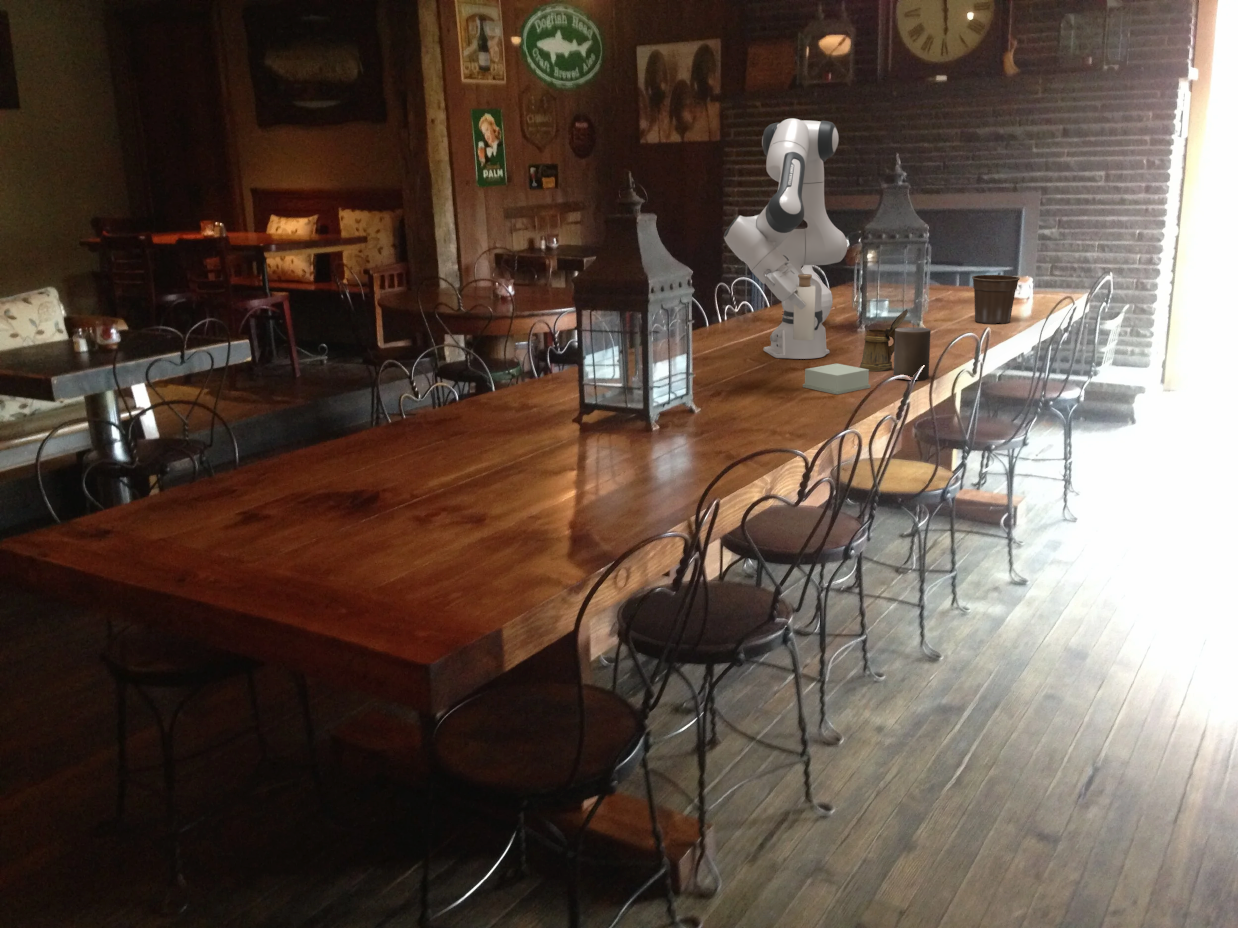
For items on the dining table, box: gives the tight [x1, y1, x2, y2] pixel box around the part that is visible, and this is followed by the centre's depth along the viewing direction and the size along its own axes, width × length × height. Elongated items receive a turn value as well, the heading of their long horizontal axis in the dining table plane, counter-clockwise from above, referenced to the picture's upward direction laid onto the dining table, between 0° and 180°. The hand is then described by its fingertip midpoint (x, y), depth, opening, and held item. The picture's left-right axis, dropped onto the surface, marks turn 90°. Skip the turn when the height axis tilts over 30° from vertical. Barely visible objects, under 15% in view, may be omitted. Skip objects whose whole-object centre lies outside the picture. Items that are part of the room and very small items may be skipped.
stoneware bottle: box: [793, 274, 815, 340], centre depth 300 cm, size 6×6×17 cm
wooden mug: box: [859, 308, 909, 372], centre depth 326 cm, size 9×14×18 cm, turn 54°
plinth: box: [802, 362, 871, 395], centre depth 305 cm, size 13×13×5 cm
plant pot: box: [971, 274, 1021, 325], centre depth 403 cm, size 16×16×16 cm
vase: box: [781, 265, 833, 324], centre depth 406 cm, size 18×18×30 cm
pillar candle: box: [893, 324, 931, 381], centre depth 314 cm, size 10×10×15 cm
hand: (806, 305), depth 299 cm, fingers closed on stoneware bottle, 6 cm apart
